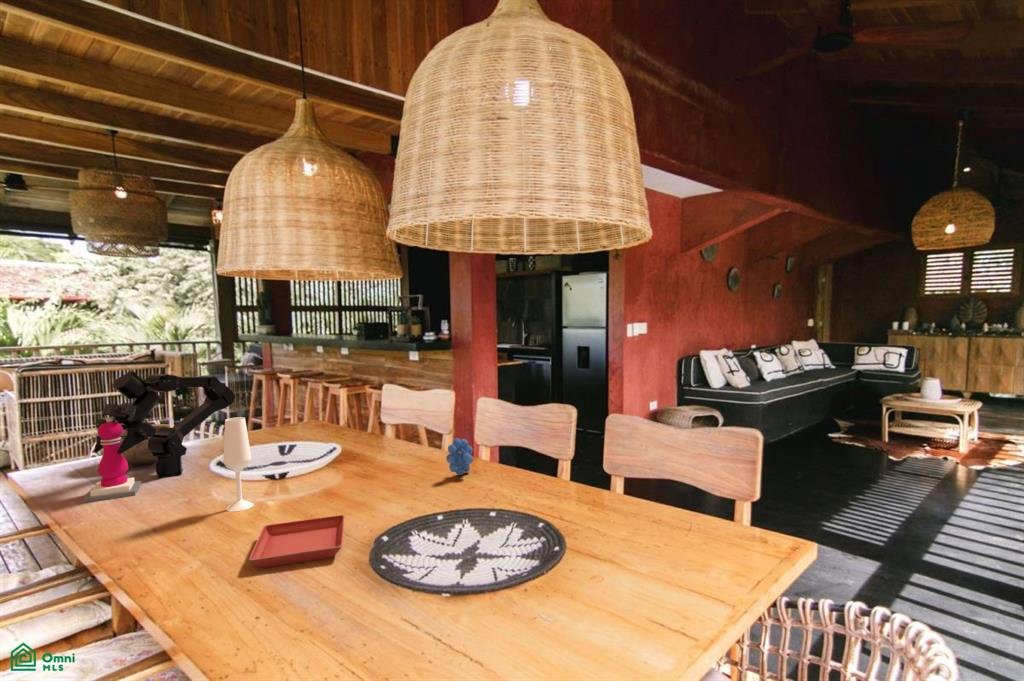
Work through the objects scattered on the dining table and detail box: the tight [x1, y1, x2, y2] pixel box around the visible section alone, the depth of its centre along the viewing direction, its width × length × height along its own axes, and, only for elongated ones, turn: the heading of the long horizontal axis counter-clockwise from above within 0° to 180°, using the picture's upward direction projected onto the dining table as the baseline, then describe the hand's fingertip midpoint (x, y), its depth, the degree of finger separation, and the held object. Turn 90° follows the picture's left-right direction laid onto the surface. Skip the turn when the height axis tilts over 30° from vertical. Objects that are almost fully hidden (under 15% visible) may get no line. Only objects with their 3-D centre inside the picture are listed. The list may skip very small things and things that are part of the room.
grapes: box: [445, 437, 474, 476], centre depth 164 cm, size 12×7×12 cm, turn 145°
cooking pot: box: [120, 423, 172, 467], centre depth 186 cm, size 25×19×12 cm
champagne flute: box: [222, 416, 254, 513], centre depth 142 cm, size 7×7×24 cm
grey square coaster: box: [82, 477, 142, 504], centre depth 155 cm, size 12×11×3 cm
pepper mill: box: [97, 416, 129, 487], centre depth 155 cm, size 7×7×20 cm
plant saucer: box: [248, 514, 346, 568], centre depth 117 cm, size 18×18×3 cm
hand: (106, 452), depth 154 cm, fingers open, 9 cm apart
